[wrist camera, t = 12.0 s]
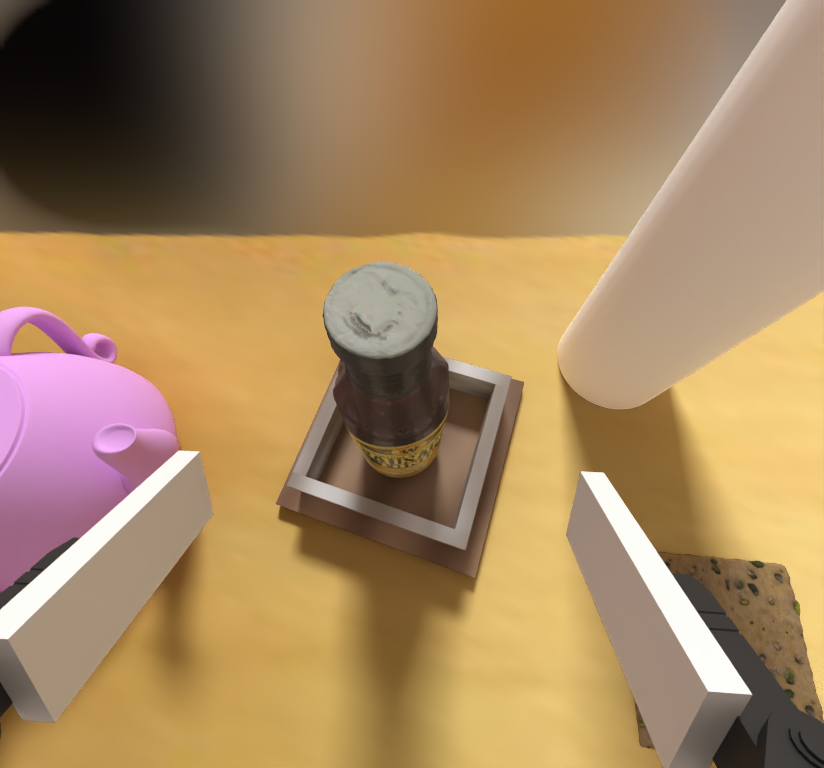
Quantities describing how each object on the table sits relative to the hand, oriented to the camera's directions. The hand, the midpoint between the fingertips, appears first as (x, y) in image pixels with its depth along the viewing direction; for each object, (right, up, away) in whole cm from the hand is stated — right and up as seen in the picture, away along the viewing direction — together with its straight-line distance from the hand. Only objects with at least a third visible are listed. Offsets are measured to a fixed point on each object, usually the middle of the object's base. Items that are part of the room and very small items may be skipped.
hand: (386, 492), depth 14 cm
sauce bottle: (0, -1, +18) cm, 18 cm away
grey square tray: (+1, -1, +19) cm, 19 cm away
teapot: (-24, -4, +19) cm, 31 cm away
